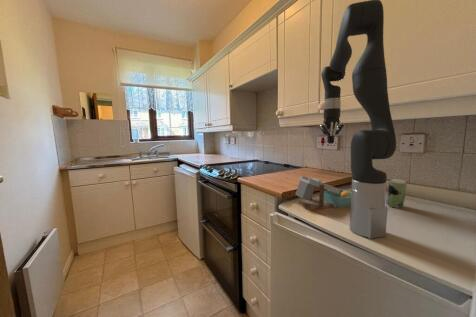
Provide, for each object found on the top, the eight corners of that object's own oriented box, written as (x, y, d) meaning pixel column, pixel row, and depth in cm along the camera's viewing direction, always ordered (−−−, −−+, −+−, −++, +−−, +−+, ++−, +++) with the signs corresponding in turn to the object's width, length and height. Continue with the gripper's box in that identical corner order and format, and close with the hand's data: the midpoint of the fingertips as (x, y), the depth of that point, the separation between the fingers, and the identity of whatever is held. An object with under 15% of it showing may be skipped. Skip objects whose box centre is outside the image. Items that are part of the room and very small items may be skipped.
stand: (309, 210, 85) (310, 186, 84) (297, 202, 95) (298, 181, 93) (334, 207, 88) (335, 184, 86) (319, 199, 97) (320, 179, 96)
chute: (302, 198, 85) (311, 176, 85) (289, 191, 96) (297, 171, 96) (334, 208, 90) (342, 187, 89) (318, 200, 101) (325, 182, 100)
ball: (345, 201, 92) (352, 199, 93) (344, 193, 92) (351, 191, 93) (339, 199, 96) (346, 196, 97) (338, 191, 96) (345, 189, 96)
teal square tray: (360, 204, 90) (361, 196, 89) (338, 207, 87) (339, 198, 87) (341, 196, 101) (342, 189, 101) (321, 199, 98) (322, 191, 98)
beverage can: (396, 203, 90) (399, 177, 88) (409, 210, 83) (411, 181, 81) (382, 203, 91) (383, 177, 89) (392, 209, 83) (395, 181, 82)
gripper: (325, 107, 93) (324, 144, 96) (349, 107, 96) (347, 143, 99) (315, 109, 101) (314, 143, 103) (338, 109, 104) (336, 142, 106)
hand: (330, 143), depth 101 cm, fingers closed
